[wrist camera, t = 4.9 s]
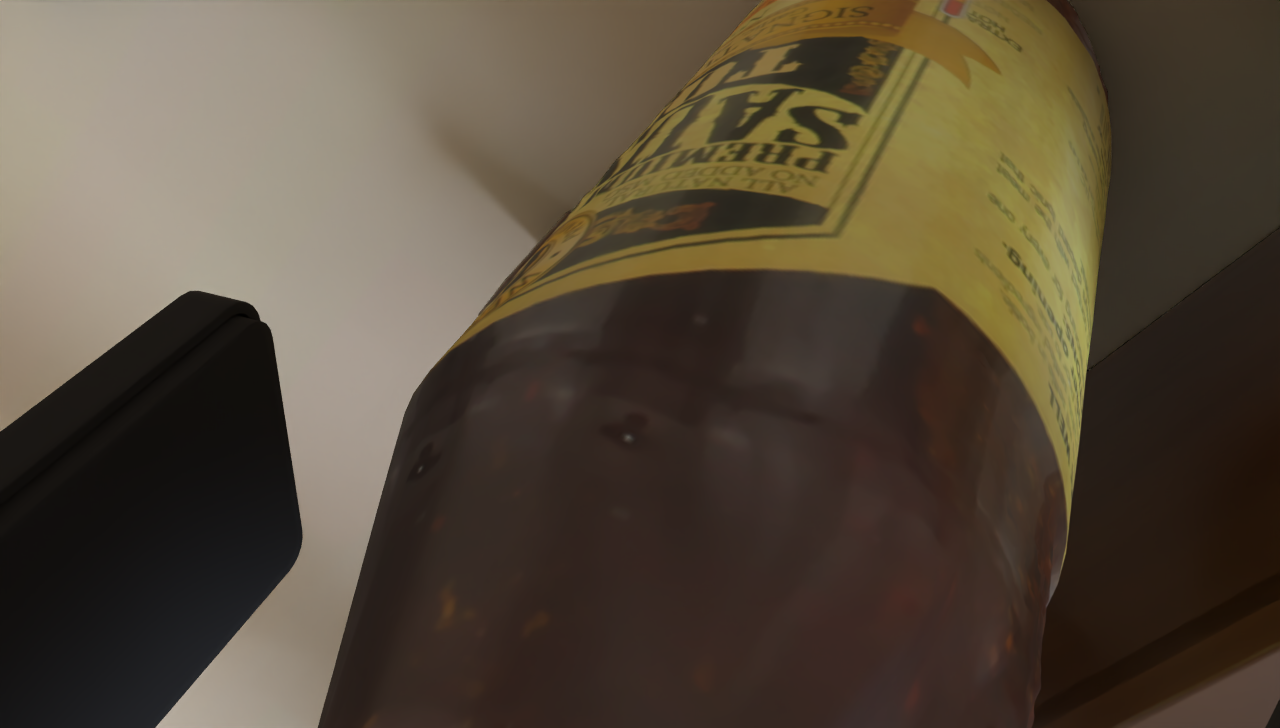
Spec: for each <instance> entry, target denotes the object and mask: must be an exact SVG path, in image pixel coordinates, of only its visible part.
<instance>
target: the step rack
mask: <svg viewBox="0 0 1280 728" xmlns="http://www.w3.org/2000/svg"><path fill="white" fill-rule="evenodd" d="M571 212H572V211H568V212H566V213H565V214H564V215H563V217H562V218H561V219H560V220H559V221H558V222H557V223H556V224H555V225H554V226H553V228H552V229H551V230H550V231H549V232H548V233H547V234H546V235H545V236H544V237H543V239H542V240H541V241H540V242H539V243H538V244H537V245H536V246H535V247H534V248H533V250H532V251H531V252H530V253H529V254H528V255H527V256H526V257H525V258H524V259H523V261H522V262H521V263H520V264H519V265H518V266H517V267H516V268H515V269H514V270H513V272H512V273H511V274H510V275H509V276H508V277H507V278H506V279H505V281H504V282H503V283H502V285H501V286H500V287H499V288H498V290H497V291H496V292H495V293H494V295H493V296H492V297H491V299H490V300H489V301H488V302H487V304H486V305H485V306H484V308H483V309H482V310H481V311H480V313H479V315H480V314H481V312H482V311H483V310H484V309H485V308H486V306H487V305H488V304H489V303H490V302H491V301H492V299H493V298H494V297H495V296H496V295H497V294H498V293H499V292H500V291H501V289H502V288H503V287H504V286H505V285H506V284H507V283H508V282H509V280H510V279H511V278H512V277H513V276H514V275H515V274H516V273H517V272H518V271H519V270H520V269H521V268H522V267H523V266H524V265H525V264H526V263H527V262H528V261H529V259H530V258H531V257H532V256H533V255H534V254H535V253H536V252H537V250H538V249H539V248H540V247H541V246H542V245H543V244H544V243H545V241H546V240H547V239H548V238H549V237H550V236H551V235H552V233H553V232H554V231H555V230H556V229H557V228H558V227H559V226H560V224H561V223H562V222H563V221H564V220H565V219H566V218H567V217H568V216H569V214H570V213H571ZM479 315H478V316H479ZM1040 660H1041V689H1040V691H1039V693H1038V695H1037V697H1036V700H1035V703H1034V722H1033V725H1032V728H1265V727H1266V725H1267V723H1268V721H1269V719H1270V717H1271V715H1272V713H1273V711H1274V709H1275V707H1276V705H1277V703H1278V701H1279V699H1280V228H1279V229H1278V230H1276V231H1275V232H1274V233H1272V234H1271V235H1269V236H1268V237H1267V238H1265V239H1264V240H1263V241H1261V242H1260V243H1259V244H1257V245H1256V246H1255V247H1253V248H1252V249H1251V250H1249V251H1248V252H1247V253H1245V254H1244V255H1243V256H1241V257H1240V258H1239V259H1237V260H1236V261H1235V262H1233V263H1232V264H1231V265H1229V266H1228V267H1227V268H1225V269H1224V270H1223V271H1221V272H1220V273H1219V274H1217V275H1216V276H1215V277H1213V278H1212V279H1211V280H1209V281H1208V282H1207V283H1205V284H1204V285H1203V286H1201V287H1200V288H1199V289H1197V290H1196V291H1195V292H1193V293H1192V294H1191V295H1189V296H1188V297H1187V298H1185V299H1184V300H1183V301H1181V302H1180V303H1179V304H1177V305H1176V306H1175V307H1173V308H1172V309H1171V310H1169V311H1168V312H1167V313H1165V314H1164V315H1163V316H1161V317H1160V318H1159V319H1157V320H1156V321H1155V322H1153V323H1152V324H1151V325H1149V326H1148V327H1147V328H1145V329H1144V330H1143V331H1141V332H1140V333H1139V334H1137V335H1136V336H1135V337H1133V338H1132V339H1131V340H1129V341H1128V342H1127V343H1125V344H1124V345H1123V346H1121V347H1120V348H1119V349H1117V350H1116V351H1115V352H1113V353H1112V354H1111V355H1109V356H1108V357H1107V358H1105V359H1104V360H1103V361H1101V362H1100V363H1099V364H1097V365H1096V366H1095V367H1093V368H1092V369H1091V370H1089V371H1088V372H1087V373H1086V380H1085V389H1084V399H1083V409H1082V419H1081V430H1080V440H1079V449H1078V457H1077V464H1076V472H1075V480H1074V487H1073V495H1072V503H1071V512H1070V521H1069V530H1068V539H1067V548H1066V554H1065V558H1064V562H1063V566H1062V570H1061V573H1060V577H1059V581H1058V585H1057V587H1056V589H1055V591H1054V593H1053V595H1052V597H1051V599H1050V601H1049V603H1048V605H1047V608H1046V618H1045V627H1044V632H1043V638H1042V652H1041V659H1040Z"/></svg>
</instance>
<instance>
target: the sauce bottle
mask: <svg viewBox="0 0 1280 728" xmlns="http://www.w3.org/2000/svg"><path fill="white" fill-rule="evenodd" d="M1111 167H1112V159H1111V126H1110V117H1109V110H1108V91H1107V89H1106V87H1105V85H1104V83H1103V80H1102V77H1101V73H1100V66H1099V65H1098V63H1097V58H1096V55H1095V54H1094V51H1093V47H1092V45H1091V42H1090V40H1089V38H1088V35H1087V33H1086V31H1085V28H1084V27H1083V26H1082V24H1081V22H1080V20H1079V17H1078V15H1077V13H1076V11H1075V10H1074V9H1073V7H1072V6H1071V5H1070V3H1069V2H1068V1H1067V0H762V1H761V2H760V3H759V4H758V5H757V6H756V7H755V8H754V9H753V10H752V11H751V12H750V13H749V14H748V15H747V16H746V18H745V19H744V20H743V21H742V22H741V23H740V24H739V25H738V27H737V28H736V29H735V30H734V31H733V33H732V34H731V35H730V36H729V37H728V38H727V40H726V41H725V42H724V43H723V44H722V45H721V46H720V47H719V48H718V49H717V50H716V51H715V52H714V53H713V55H712V56H711V57H710V58H709V59H708V60H707V62H706V63H705V64H704V65H703V66H702V67H701V69H700V70H699V71H698V72H697V73H696V74H695V75H694V76H693V77H692V78H691V80H690V81H689V82H688V83H687V84H686V85H685V86H684V87H683V89H682V90H681V91H680V92H679V93H678V94H677V95H676V96H675V97H674V98H673V99H672V100H671V101H670V102H669V103H668V104H667V105H666V106H665V108H664V109H663V110H662V111H661V112H660V113H659V114H658V115H657V117H656V118H655V119H654V121H653V122H652V123H651V125H650V126H649V127H648V128H647V129H646V130H645V131H644V132H643V133H642V134H641V135H640V136H639V137H638V139H637V140H636V141H635V142H634V143H633V144H632V145H631V146H630V147H629V149H628V150H627V151H625V152H624V153H623V154H622V155H621V156H620V157H619V158H618V159H617V160H616V161H615V162H614V163H613V165H612V166H611V167H610V168H609V170H608V171H607V172H606V174H605V175H604V176H603V178H602V179H601V180H600V181H599V183H598V184H597V185H596V186H595V187H594V188H593V189H592V190H591V191H590V192H588V193H587V194H586V195H585V196H584V197H583V198H582V200H581V201H580V202H579V204H578V205H577V206H576V208H575V209H574V210H573V211H572V212H571V213H570V214H569V216H568V217H567V218H566V219H565V220H564V221H563V222H562V223H561V224H560V226H559V227H558V228H557V229H556V230H555V231H554V232H553V233H552V235H551V236H550V237H549V238H548V239H547V240H546V241H545V243H544V244H543V245H542V246H541V247H540V248H539V249H538V250H537V252H536V253H535V254H534V255H533V256H532V257H531V258H530V259H529V261H528V262H527V263H526V264H525V265H524V266H523V267H522V268H521V269H520V270H519V271H518V272H517V273H516V274H515V275H514V276H513V277H512V278H511V279H510V280H509V282H508V283H507V284H506V285H505V286H504V287H503V288H502V289H501V291H500V292H499V293H498V294H497V295H496V296H495V297H494V298H493V299H492V301H491V302H490V303H489V304H488V305H487V306H486V308H485V309H484V310H483V311H482V312H481V314H480V315H479V316H478V317H477V318H476V320H475V321H474V322H473V323H472V325H471V326H470V327H469V328H468V329H467V330H466V331H465V332H464V334H463V335H462V336H461V337H460V338H459V339H458V340H457V341H456V342H455V344H454V345H453V346H452V347H451V348H450V349H449V350H448V351H447V352H446V354H445V355H444V356H443V357H442V358H441V359H440V360H439V361H438V362H437V364H436V365H435V366H434V367H433V368H432V369H431V370H430V371H429V373H428V374H427V376H426V377H425V378H424V380H423V381H422V382H421V384H420V385H419V387H418V388H417V389H416V391H415V392H414V393H413V396H412V398H411V400H410V402H409V405H408V407H407V409H406V411H405V414H404V417H403V421H402V425H401V428H400V432H399V435H398V439H397V442H396V446H395V449H394V453H393V456H392V460H391V463H390V467H389V470H388V474H387V477H386V481H385V484H384V488H383V491H382V495H381V499H380V502H379V506H378V509H377V513H376V517H375V520H374V524H373V528H372V531H371V535H370V539H369V542H368V546H367V550H366V554H365V557H364V561H363V565H362V568H361V572H360V576H359V579H358V583H357V587H356V590H355V594H354V598H353V601H352V605H351V609H350V612H349V616H348V620H347V623H346V627H345V631H344V634H343V638H342V642H341V645H340V649H339V653H338V656H337V660H336V664H335V667H334V671H333V675H332V678H331V682H330V685H329V689H328V693H327V696H326V700H325V704H324V707H323V711H322V714H321V718H320V722H319V725H318V728H1032V725H1033V722H1034V703H1035V700H1036V697H1037V695H1038V693H1039V691H1040V689H1041V660H1040V659H1041V652H1042V638H1043V632H1044V627H1045V618H1046V608H1047V605H1048V603H1049V601H1050V599H1051V597H1052V595H1053V593H1054V591H1055V589H1056V587H1057V585H1058V581H1059V577H1060V573H1061V570H1062V566H1063V562H1064V558H1065V554H1066V548H1067V539H1068V530H1069V521H1070V512H1071V503H1072V495H1073V487H1074V480H1075V472H1076V464H1077V457H1078V449H1079V440H1080V430H1081V419H1082V409H1083V399H1084V389H1085V380H1086V372H1087V364H1088V357H1089V349H1090V341H1091V333H1092V326H1093V317H1094V307H1095V298H1096V289H1097V279H1098V270H1099V263H1100V256H1101V248H1102V241H1103V233H1104V226H1105V217H1106V206H1107V196H1108V190H1109V184H1110V178H1111Z"/></svg>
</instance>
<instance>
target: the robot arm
mask: <svg viewBox="0 0 1280 728" xmlns="http://www.w3.org/2000/svg"><path fill="white" fill-rule="evenodd" d="M302 538H303V536H302V525H301V518H300V512H299V505H298V499H297V492H296V486H295V479H294V473H293V466H292V460H291V453H290V447H289V440H288V434H287V428H286V421H285V415H284V408H283V402H282V395H281V389H280V382H279V376H278V369H277V363H276V356H275V350H274V343H273V337H272V333H271V330H270V328H269V327H268V325H267V324H266V323H264V322H262V321H260V318H259V314H258V312H257V311H256V309H255V308H254V307H253V306H252V305H250V304H248V303H247V302H243V301H239V300H235V299H231V298H226V297H222V296H218V295H214V294H210V293H206V292H201V291H189V292H187V293H185V294H183V295H181V296H180V297H179V298H177V299H176V300H175V301H173V302H172V303H171V304H169V305H168V306H167V307H165V308H164V309H163V310H161V311H160V312H159V313H157V314H156V315H155V316H153V317H152V318H151V319H149V320H148V321H147V322H145V323H144V324H143V325H141V326H140V327H139V328H137V329H136V330H135V331H133V332H132V333H131V334H129V335H128V336H127V337H125V338H124V339H123V340H122V341H120V342H119V343H118V344H116V345H115V346H114V347H112V348H111V349H110V350H108V351H107V352H106V353H104V354H103V355H102V356H100V357H99V358H98V359H96V360H95V361H94V362H92V363H91V364H90V365H88V366H87V367H86V368H84V369H83V370H82V371H80V372H79V373H78V374H76V375H75V376H74V377H72V378H71V379H70V380H68V381H67V382H66V383H64V384H63V385H62V386H60V387H59V388H58V389H57V390H55V391H54V392H53V393H51V394H50V395H49V396H47V397H46V398H45V399H43V400H42V401H41V402H39V403H38V404H37V405H35V406H34V407H33V408H31V409H30V410H29V411H27V412H26V413H25V414H23V415H22V416H21V417H19V418H18V419H17V420H15V421H14V422H13V423H11V424H10V425H9V426H7V427H6V428H5V429H3V430H2V431H1V432H0V728H155V727H156V726H157V725H158V724H159V723H160V721H161V720H162V719H163V718H164V717H165V716H166V714H167V713H168V712H169V711H170V710H171V709H172V707H173V706H174V705H175V704H176V703H177V702H178V700H179V699H180V698H181V697H182V696H183V695H184V693H185V692H186V691H187V690H188V689H189V688H190V686H191V685H192V684H193V683H194V682H195V681H196V679H197V678H198V677H199V676H200V675H201V674H202V672H203V671H204V670H205V669H206V668H207V667H208V665H209V664H210V663H211V662H212V661H213V660H214V658H215V657H216V656H217V655H218V654H219V653H220V651H221V650H222V649H223V648H224V647H225V646H226V644H227V643H228V642H229V641H230V640H231V639H232V637H233V636H234V635H235V634H236V633H237V631H238V630H239V629H240V628H241V627H242V626H243V624H244V623H245V622H246V621H247V620H248V619H249V617H250V616H251V615H252V614H253V613H254V612H255V610H256V609H257V608H258V607H259V606H260V605H261V603H262V602H263V601H264V600H265V599H266V598H267V596H268V595H269V594H270V593H271V592H272V591H273V589H274V588H275V587H276V586H277V585H278V584H279V582H280V581H281V580H282V579H283V578H284V577H285V575H286V574H287V573H288V572H289V571H290V569H291V568H292V566H293V565H294V564H295V561H296V559H297V557H298V555H299V552H300V549H301V545H302ZM1265 728H1280V699H1279V701H1278V703H1277V705H1276V707H1275V709H1274V711H1273V713H1272V715H1271V717H1270V719H1269V721H1268V723H1267V725H1266V727H1265Z"/></svg>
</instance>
